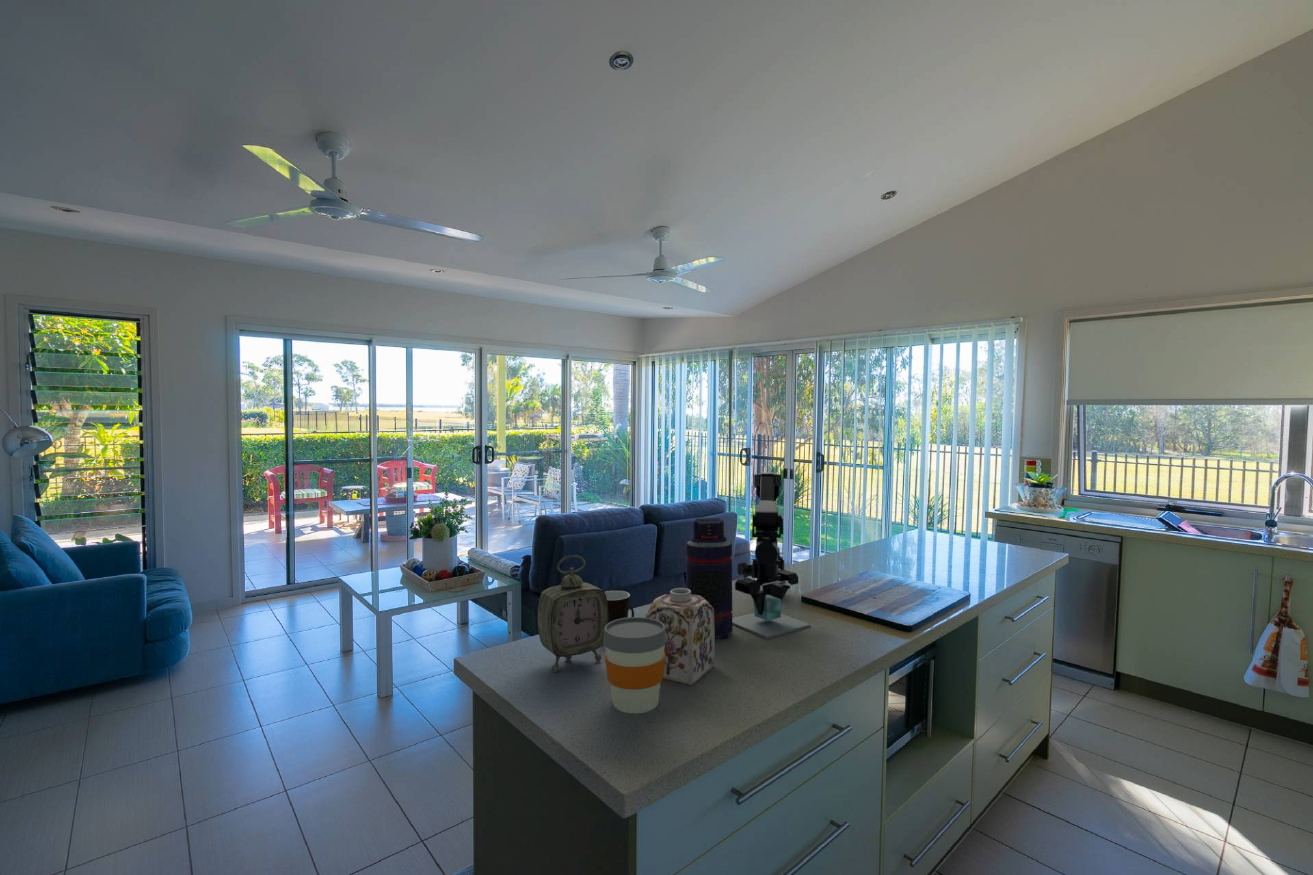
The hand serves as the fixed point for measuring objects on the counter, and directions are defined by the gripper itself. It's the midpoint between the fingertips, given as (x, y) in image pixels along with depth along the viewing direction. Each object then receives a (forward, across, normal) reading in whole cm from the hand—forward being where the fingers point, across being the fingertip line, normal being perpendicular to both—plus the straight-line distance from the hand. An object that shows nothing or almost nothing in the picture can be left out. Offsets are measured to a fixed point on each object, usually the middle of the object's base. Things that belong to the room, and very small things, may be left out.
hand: (767, 613), depth 160 cm
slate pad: (+3, 0, 0) cm, 3 cm away
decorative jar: (+3, +37, +11) cm, 39 cm away
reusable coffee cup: (+3, +53, +18) cm, 56 cm away
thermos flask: (+3, +17, -4) cm, 18 cm away
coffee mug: (+3, +38, -17) cm, 42 cm away
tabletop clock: (+3, +55, -7) cm, 56 cm away
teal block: (+1, 0, 0) cm, 1 cm away
